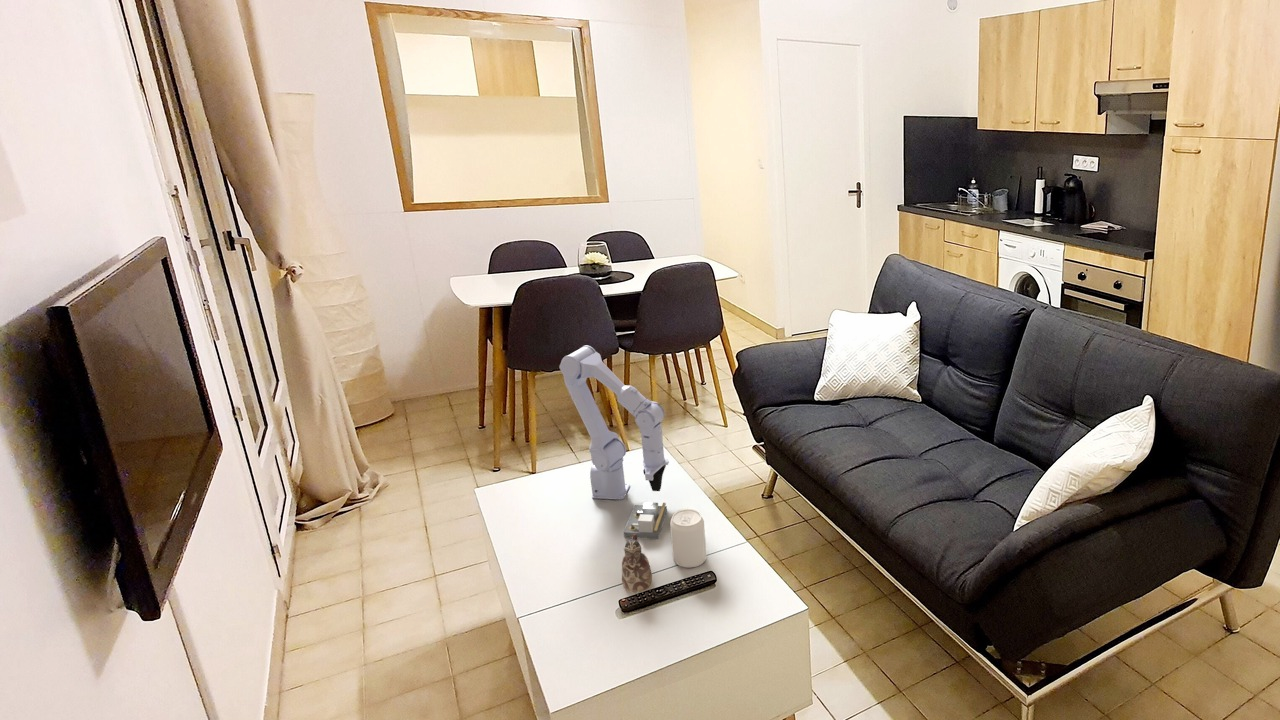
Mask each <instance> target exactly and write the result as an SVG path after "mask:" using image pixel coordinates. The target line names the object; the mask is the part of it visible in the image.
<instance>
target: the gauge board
mask: <svg viewBox="0 0 1280 720" xmlns="http://www.w3.org/2000/svg"><path fill="white" fill-rule="evenodd" d="M643 506H644V504H634V506H633V508H632V511H631V513H630V516H629V519H628V521H627V523H626V526H625V529H624V531H623V537H624V538H630V539H631V538H633V534H636V535H637V539H649V540H651V539H652V540H659V537H660V534H661V532H662V531H661V530H662V528H663V525H664V522H665V519H666V516H667V512H668V508H667V507H668V506H667V505H666V502H663V503H662V505H658V507H659V514H658V517H657V519H655V518H654V515H646V514H639V515H636V512H637V511H643Z"/></svg>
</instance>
